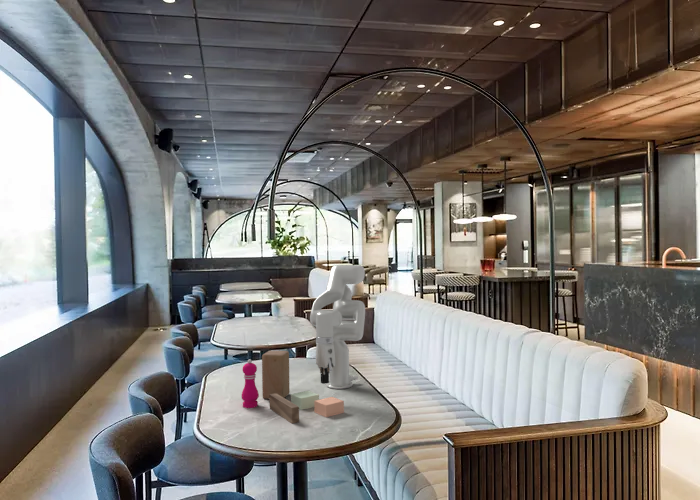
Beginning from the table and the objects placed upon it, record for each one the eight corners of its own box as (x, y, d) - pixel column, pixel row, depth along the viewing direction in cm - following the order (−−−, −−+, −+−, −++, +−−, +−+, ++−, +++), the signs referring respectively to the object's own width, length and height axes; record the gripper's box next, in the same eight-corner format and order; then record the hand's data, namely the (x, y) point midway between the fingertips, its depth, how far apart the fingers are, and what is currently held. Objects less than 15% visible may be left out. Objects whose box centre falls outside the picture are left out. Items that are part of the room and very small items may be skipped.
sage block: (308, 401, 238) (308, 390, 238) (319, 406, 232) (318, 394, 232) (291, 405, 233) (290, 394, 233) (301, 410, 226) (301, 398, 226)
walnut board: (276, 407, 230) (276, 393, 230) (299, 422, 211) (298, 406, 211) (269, 408, 228) (269, 394, 228) (292, 423, 209) (291, 408, 209)
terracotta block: (332, 408, 228) (332, 396, 228) (343, 413, 222) (343, 401, 222) (314, 413, 223) (314, 400, 223) (325, 417, 216) (325, 405, 216)
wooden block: (283, 400, 240) (282, 355, 240) (261, 399, 242) (261, 354, 242) (290, 394, 250) (289, 350, 249) (269, 393, 252) (268, 349, 251)
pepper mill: (261, 404, 234) (261, 358, 234) (253, 409, 228) (252, 361, 227) (247, 402, 237) (246, 357, 236) (238, 407, 230) (237, 360, 230)
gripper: (340, 342, 232) (340, 385, 232) (324, 337, 245) (324, 378, 245) (325, 343, 228) (325, 387, 228) (309, 339, 241) (309, 380, 241)
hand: (324, 382), depth 236 cm, fingers closed
